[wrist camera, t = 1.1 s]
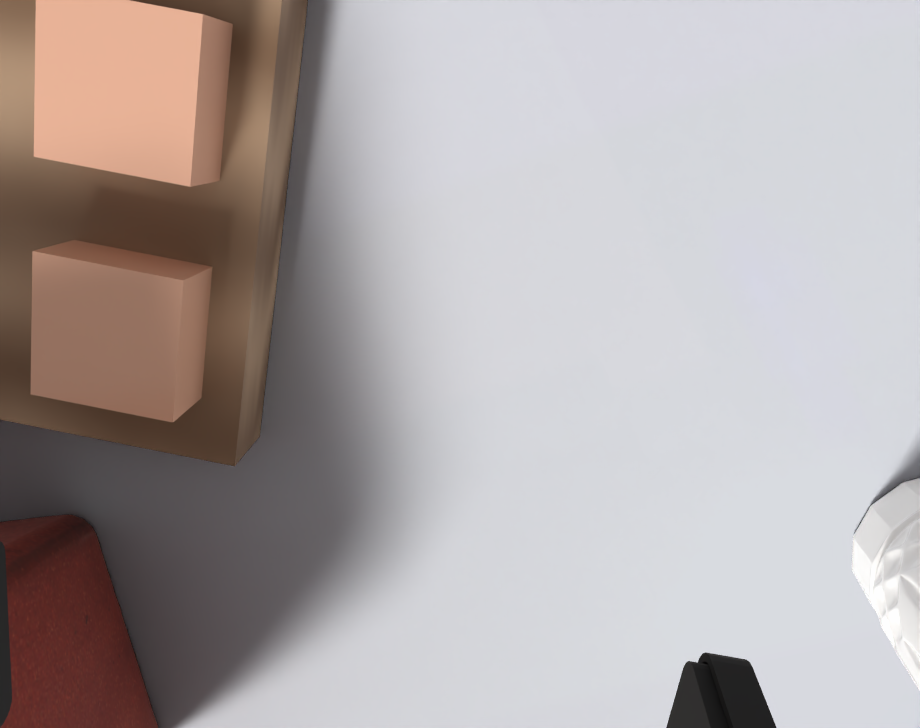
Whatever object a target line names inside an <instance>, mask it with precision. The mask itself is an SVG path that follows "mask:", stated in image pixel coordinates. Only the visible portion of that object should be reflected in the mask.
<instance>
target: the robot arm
mask: <svg viewBox="0 0 920 728" xmlns="http://www.w3.org/2000/svg"><path fill="white" fill-rule="evenodd" d="M11 703H12V682H11V661H10V639H9V618H8V597H7V576H6V555H5V547H4V545H3V543H2V542H1V541H0V728H1V726H2V725H3V723H4V722H5V720H6V718H7V716H8V713H9V711H10V707H11ZM667 728H776V725H775V723H774V720H773V718H772V715H771V713H770V710H769V708H768V705H767V703H766V700H765V698H764V695H763V693H762V690H761V688H760V685H759V683H758V680H757V678H756V675H755V673H754V670H753V668H752V666H751V664H750V662H749V661H747V660H745V659H739V658H734V657H728V656H722V655H717V654H711V653H703V654H702V655H701V657H700V658H699V661H698V663H696V662H691V661H688V662H687V663H686V664H685V666H684V668H683V671H682V675H681V678H680V682H679V685H678V689H677V692H676V696H675V699H674V703H673V706H672V710H671V714H670V717H669V721H668V724H667Z"/></svg>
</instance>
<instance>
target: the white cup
mask: <svg viewBox="0 0 920 728" xmlns="http://www.w3.org/2000/svg"><path fill="white" fill-rule="evenodd" d="M852 571H853V573H854V575H855V577H856V578H857V580H858V582H859V584H860V586H861V587H862V589H863V591H864V593H865V595H866V597H867V598H868V600H869V602H870V603H871V605H872V606H873V608H874V610H875V611H876V613H877V615H878V617H879V620H880V625H881V627H882V629H883V630H884V632H885V634H886V635H887V637H888V638H889V640H890V642H891V644H892V646H893V648H894V650H895V652H896V653H897V655H898V657H899V658H900V660H901V662H902V663H903V665H904V667H905V668H906V670H907V671H908V673H909V675H910V676H911V678H912V680H913V681H914V683H915V684H916V686H917V688H918V689H919V691H920V478H918V479H914V480H910V481H906V482H903V483H901V484H900V485H899V486H897V487H896V488H894V489H893V490H892V491H890V492H889V493H887V494H886V495H885V496H883V497H882V498H881V499H879V500H878V501H876V502H875V503H874V504H872V505H871V506H870V508H869V510H868V512H867V513H866V515H865V517H864V518H863V520H862V522H861V524H860V525H859V527H858V529H857V530H856V532H855V534H854V536H853V549H852Z"/></svg>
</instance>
